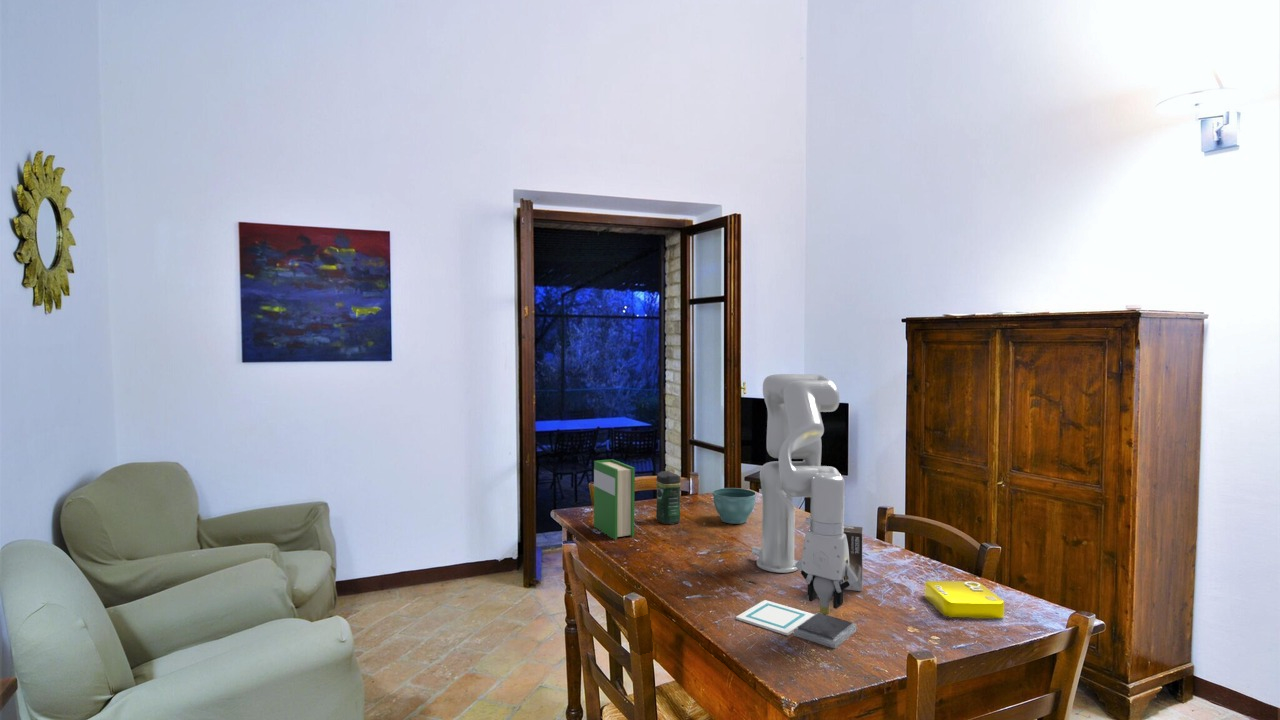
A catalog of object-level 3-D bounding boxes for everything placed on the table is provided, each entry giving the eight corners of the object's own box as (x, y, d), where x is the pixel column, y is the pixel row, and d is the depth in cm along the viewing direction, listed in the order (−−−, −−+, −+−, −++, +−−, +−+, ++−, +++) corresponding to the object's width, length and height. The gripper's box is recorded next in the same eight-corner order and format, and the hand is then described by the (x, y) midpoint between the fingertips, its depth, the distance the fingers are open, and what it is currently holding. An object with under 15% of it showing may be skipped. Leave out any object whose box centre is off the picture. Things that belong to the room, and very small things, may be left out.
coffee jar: (683, 523, 249) (683, 473, 248) (664, 526, 246) (664, 475, 245) (672, 517, 258) (672, 468, 257) (653, 519, 254) (653, 470, 254)
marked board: (735, 619, 165) (736, 616, 165) (764, 602, 175) (764, 599, 175) (787, 635, 156) (787, 632, 156) (814, 616, 166) (815, 614, 166)
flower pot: (713, 514, 262) (713, 486, 262) (755, 516, 260) (755, 488, 259) (711, 526, 246) (711, 496, 246) (756, 528, 244) (756, 498, 243)
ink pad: (793, 635, 156) (793, 627, 156) (816, 619, 165) (817, 611, 165) (834, 648, 149) (835, 639, 149) (856, 630, 158) (856, 622, 158)
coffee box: (862, 583, 189) (863, 526, 188) (862, 592, 183) (863, 533, 182) (828, 579, 192) (829, 523, 191) (827, 587, 186) (828, 529, 185)
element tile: (922, 596, 181) (922, 578, 181) (978, 596, 181) (978, 579, 181) (946, 619, 166) (946, 600, 166) (1007, 620, 166) (1008, 601, 166)
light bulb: (809, 609, 160) (810, 568, 160) (831, 609, 161) (832, 568, 160) (817, 620, 155) (818, 578, 154) (840, 619, 155) (841, 577, 155)
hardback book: (634, 537, 232) (634, 467, 231) (614, 539, 228) (615, 469, 228) (612, 524, 247) (612, 459, 247) (593, 526, 244) (594, 460, 243)
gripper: (785, 523, 159) (784, 598, 160) (856, 538, 148) (854, 619, 149) (800, 516, 165) (798, 588, 166) (869, 530, 154) (867, 608, 155)
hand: (825, 602), depth 158 cm, fingers closed on light bulb, 5 cm apart
